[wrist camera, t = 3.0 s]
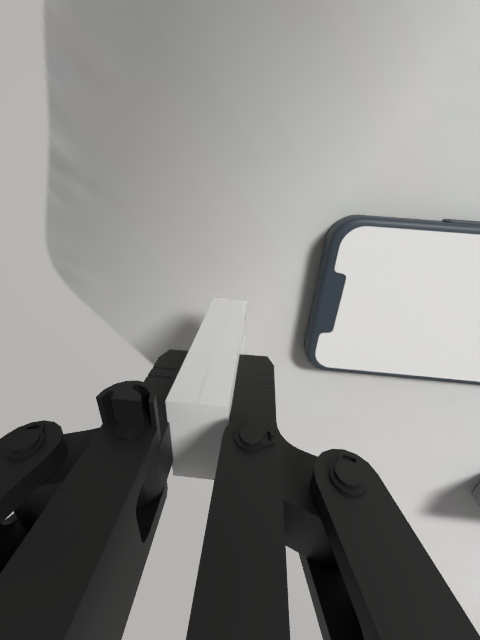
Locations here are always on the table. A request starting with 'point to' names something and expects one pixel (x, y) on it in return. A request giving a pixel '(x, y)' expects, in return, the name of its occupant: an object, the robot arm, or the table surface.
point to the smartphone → (398, 299)
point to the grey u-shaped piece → (477, 494)
